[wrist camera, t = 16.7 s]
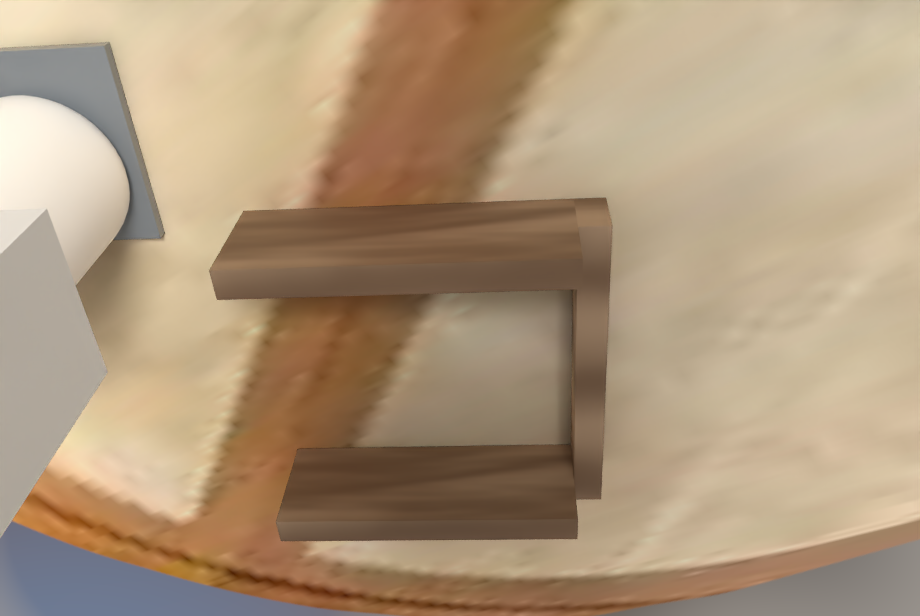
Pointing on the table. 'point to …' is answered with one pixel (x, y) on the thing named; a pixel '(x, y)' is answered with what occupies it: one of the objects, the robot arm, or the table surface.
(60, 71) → the coaster
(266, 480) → the table surface
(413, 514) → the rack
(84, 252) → the mug
